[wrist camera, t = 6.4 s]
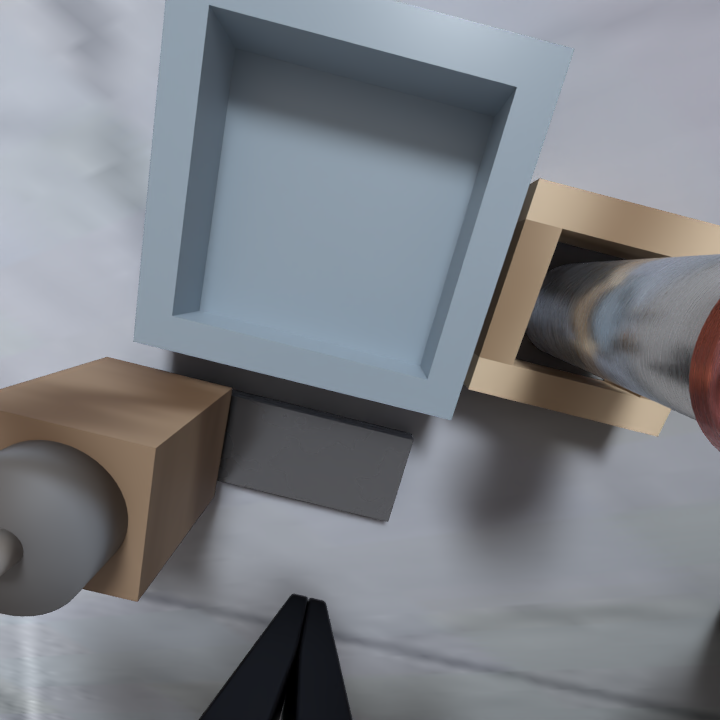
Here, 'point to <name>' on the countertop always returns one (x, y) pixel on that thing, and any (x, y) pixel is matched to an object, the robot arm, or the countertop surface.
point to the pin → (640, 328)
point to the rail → (312, 456)
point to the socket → (526, 275)
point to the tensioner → (101, 479)
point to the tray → (338, 189)
